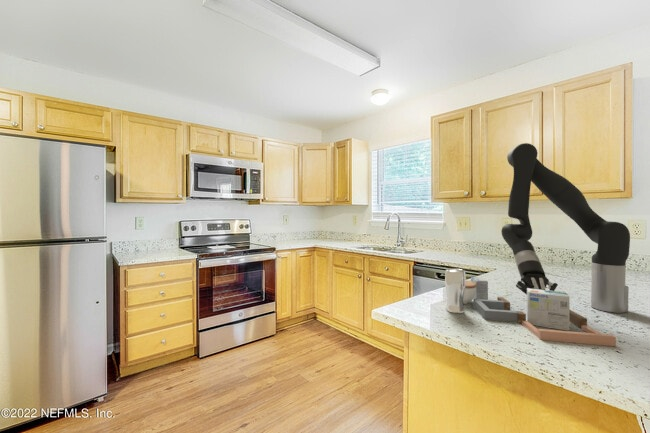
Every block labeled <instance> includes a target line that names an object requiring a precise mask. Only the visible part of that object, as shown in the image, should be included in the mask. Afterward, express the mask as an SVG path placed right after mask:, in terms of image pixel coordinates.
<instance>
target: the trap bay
mask: <svg viewBox="0 0 650 433" xmlns="http://www.w3.org/2000/svg"><path fill="white" fill-rule="evenodd" d="M472 302H473V304H472V307H473V308H474V309H475V311H477V312H478V313H479V315H480V316H481V317H482V318H483V319H484V320H488V321H502V322H503V321H504V322H514V323H516V322H517V323H518V313H517V312H516V311H517V310H511V309H510V310H504V302H503V301H500V300H497V299H488V300H485V299H474V298H473V300H472Z"/></svg>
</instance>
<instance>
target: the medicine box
mask: <svg viewBox="0 0 650 433" xmlns="http://www.w3.org/2000/svg"><path fill="white" fill-rule="evenodd" d="M470 282H474V283H476V293H475V297H474V298H473V299H485V300H489V282H488V280H486V279H484V278H483V277H481V276H471V278H470Z"/></svg>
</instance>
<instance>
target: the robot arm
mask: <svg viewBox="0 0 650 433" xmlns="http://www.w3.org/2000/svg"><path fill="white" fill-rule="evenodd" d="M507 153H508V154H507V157H506V158H507V162H508V164H509V165H510V166H511V167H512V168H513V179H512V184H511V189H510V193H509V199H508V208H507V210H508V211H507V215H508V217H509V218H512V219H516V220H518V221H519V223H506V224H505V225H502V228H501V236H502V238H503V241H504V242H506V244H507V245H508V246H509V248H510V249H511V251H512V253H513V256H514V260H515V265H516V267H517V270H518V273H519V276H520V278H521V279H520V280H518V281H517V282H516V284H515V287H516V288H518V289H519V290H520V292H521V291H522V292H523V294H525V295H526V296H527V288H530V289H540V290H547V289H546V287H547V288H548V290H550V291H556V289H557V287H558V283H556V282H554V283H553V282H551V281H550V279H549V278H548V277H547V276H546V272H545V270H544V267H543V266H542V262H541V260H540V257H539V256H538V254H537V252H536V250H535V248H534V246H533V244H532V243H531V241H529V240H531V239H532V237H533V228H532V226H531V220H530V215H529V209H530V196H531V185H532V184H533V185H534V186H535V187H536V188H537V189H538V190H539V191H540V192H541V193H542V194H543V195H544V196H545V197H546V198H547V199H548V200H549V201H550V202H551V203H552V204H553V205H555V206H556V207H557V208H558V209H559V210H560V211H562V212H563V213H564V215H567V217H569V219H571V220H572V221H573V222H575V224H577V226H578V227H579V228H580V229H581V230H582V231H583V233H584V234H585V235H586V236H587V237H588V238H589V239H590V240H591V241H592V242H593V243H595V244H597V249H596V250H597V251H596V252H595V253H594V254H593V255H592V256H591V280H590V282H591V284H590V288H591V289H590V292H591V293H590V306H591V308H594V309H596V310H599V311H603V312H608V313H617V314H619V313H620V314H623V313H629V290H630V289H629V286H628V285H626V271H627V270H626V266H627V265H626V264H627V260H628V259H629V256H630V248H631V233H630V231H629V228H628V226H626V224H623V223H622V222H618V221H607V220H606V219H604V218H603V217H602V216H600V215H599V214H598V213H596V212H595V211H594V210H593V209H592V208H591V207H590V204H589V203H588V201H587V199H586V197H585V195H584V194H583V192H582V191H581V190H580V189H579V188H578V187H576V186H575V185H574V184H573V183H572V182H571V181H570V180H569V179H567V178H566V177H564V176H562V175H561V174H559V173H557V172H556V171H553V170H551V169H549V168H548V167H547V166H545V165H544V164H543V163H542V162H541V161H540V160H539V159H538V158H537V157H538V153H539V152H538V149H537V148H536V146H535V145H533V144H532V143H527V142H525V143H521V144H518V145H516V146H515V147H513V148H512V149H510V150H509V151H508V152H507Z"/></svg>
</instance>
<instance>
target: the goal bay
mask: <svg viewBox="0 0 650 433" xmlns="http://www.w3.org/2000/svg"><path fill="white" fill-rule="evenodd" d="M521 325H522V326H524V327H525V328H526V329H527V330H528V331H530V332H531V333H532V334H533V335H534V336H535V337H536V338H538V339H539V340H543V341H544V340H545V341H553V342H565V343H575V344H586V345H587V344H588V345H598V346H609V347H610V346H611V347H616V346H617V345H616V344H617V340H616V339H617V337H616V336H615V335H612V334H605V333H601V332H599V331H597V330H596V329H594V328H592V327H591V326H589V325H587V326H585V325H582V328H581V330H582V331H583V332H580V331H570V330H569V331H566V330H560V329H545V328H537V327H536V326H535V325H532V324H531V323H529V322H528V321H527V320H526V321H522V323H521Z"/></svg>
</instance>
